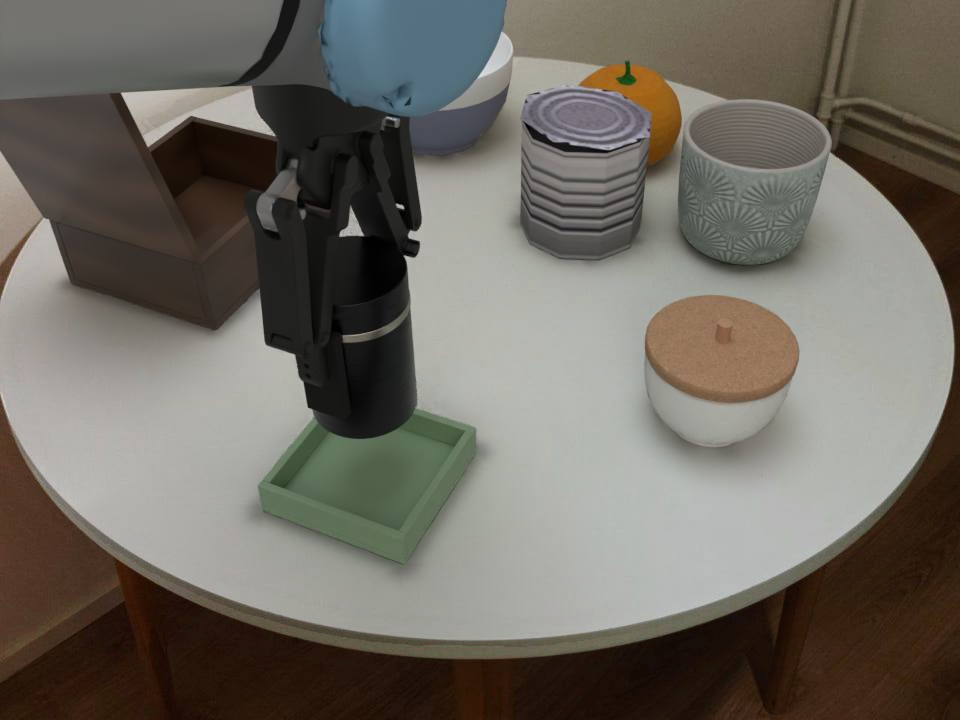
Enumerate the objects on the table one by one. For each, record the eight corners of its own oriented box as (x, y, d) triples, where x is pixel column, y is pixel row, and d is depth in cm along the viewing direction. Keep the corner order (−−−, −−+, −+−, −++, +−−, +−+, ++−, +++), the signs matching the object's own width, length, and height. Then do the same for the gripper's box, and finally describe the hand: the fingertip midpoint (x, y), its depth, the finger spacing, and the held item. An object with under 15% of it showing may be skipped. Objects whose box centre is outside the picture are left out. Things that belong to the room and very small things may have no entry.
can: (522, 190, 103) (524, 77, 96) (639, 194, 103) (650, 81, 95) (516, 259, 95) (517, 141, 87) (643, 264, 94) (656, 145, 86)
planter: (786, 294, 91) (811, 185, 83) (650, 256, 95) (663, 150, 88) (821, 221, 99) (847, 116, 92) (694, 189, 103) (709, 87, 96)
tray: (404, 564, 70) (402, 539, 68) (262, 510, 73) (256, 485, 72) (476, 452, 77) (476, 427, 75) (344, 408, 81) (341, 383, 79)
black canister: (385, 453, 67) (371, 319, 59) (290, 420, 69) (265, 287, 62) (436, 383, 71) (428, 251, 64) (345, 354, 74) (328, 224, 66)
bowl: (332, 145, 110) (322, 59, 104) (421, 85, 120) (417, 3, 114) (457, 189, 104) (454, 101, 97) (540, 122, 114) (543, 37, 107)
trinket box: (807, 453, 77) (834, 356, 70) (671, 485, 75) (686, 388, 68) (740, 359, 84) (759, 265, 78) (615, 386, 82) (624, 291, 76)
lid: (-84, 2, 72) (-93, 10, 71) (96, 43, 67) (88, 51, 66) (50, 210, 88) (43, 218, 88) (202, 255, 83) (196, 264, 83)
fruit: (542, 139, 111) (545, 50, 104) (639, 115, 114) (647, 27, 108) (598, 194, 103) (605, 101, 96) (699, 166, 106) (713, 75, 100)
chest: (203, 176, 106) (190, 115, 102) (336, 211, 101) (329, 148, 97) (70, 284, 93) (48, 219, 89) (215, 330, 88) (200, 265, 83)
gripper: (271, 144, 45) (330, 497, 60) (471, -25, 59) (478, 298, 74) (131, 110, 48) (222, 457, 63) (355, -45, 61) (384, 272, 76)
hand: (360, 371), depth 68 cm, fingers closed on black canister, 7 cm apart
